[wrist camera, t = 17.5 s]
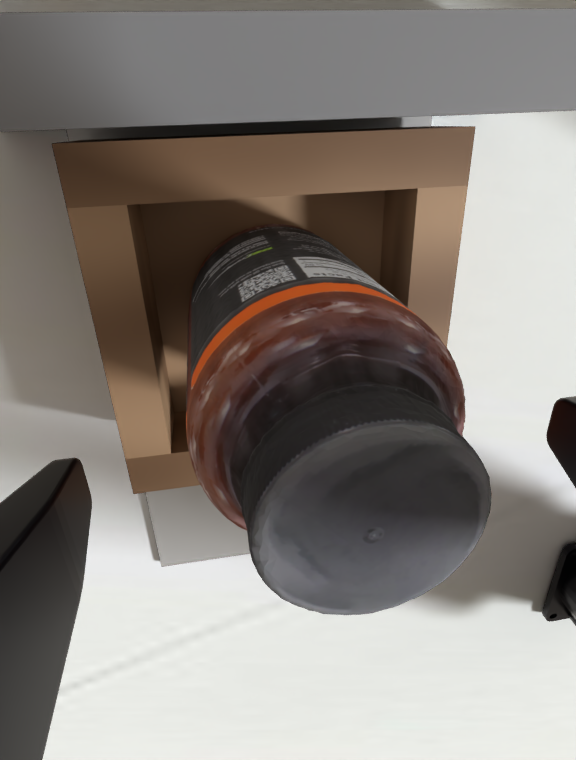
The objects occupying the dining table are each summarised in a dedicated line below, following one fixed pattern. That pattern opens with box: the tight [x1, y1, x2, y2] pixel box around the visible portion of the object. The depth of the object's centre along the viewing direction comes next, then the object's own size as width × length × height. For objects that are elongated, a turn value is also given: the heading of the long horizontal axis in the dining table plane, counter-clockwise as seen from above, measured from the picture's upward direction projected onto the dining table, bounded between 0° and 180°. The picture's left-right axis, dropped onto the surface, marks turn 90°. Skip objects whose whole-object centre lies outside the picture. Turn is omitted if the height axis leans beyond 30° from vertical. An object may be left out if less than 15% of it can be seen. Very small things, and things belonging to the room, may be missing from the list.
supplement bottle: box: [186, 224, 491, 615], centre depth 13 cm, size 6×6×11 cm
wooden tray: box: [52, 126, 475, 494], centre depth 17 cm, size 11×11×4 cm
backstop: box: [0, 9, 576, 567], centre depth 18 cm, size 21×16×6 cm
